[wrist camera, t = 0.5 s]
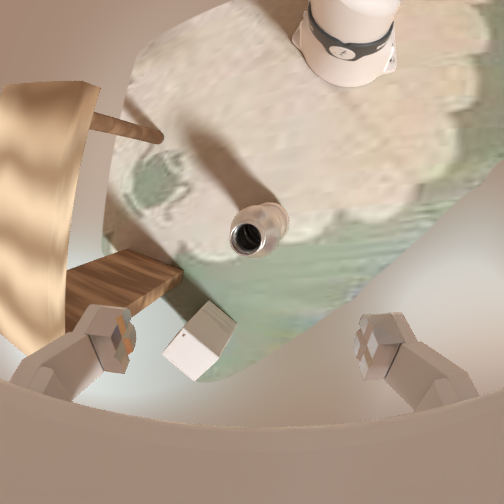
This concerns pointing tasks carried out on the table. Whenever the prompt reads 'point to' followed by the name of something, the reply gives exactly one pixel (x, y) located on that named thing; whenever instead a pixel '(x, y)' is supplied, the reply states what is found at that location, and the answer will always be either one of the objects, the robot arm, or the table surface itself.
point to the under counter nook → (58, 217)
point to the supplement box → (200, 341)
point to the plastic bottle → (258, 229)
